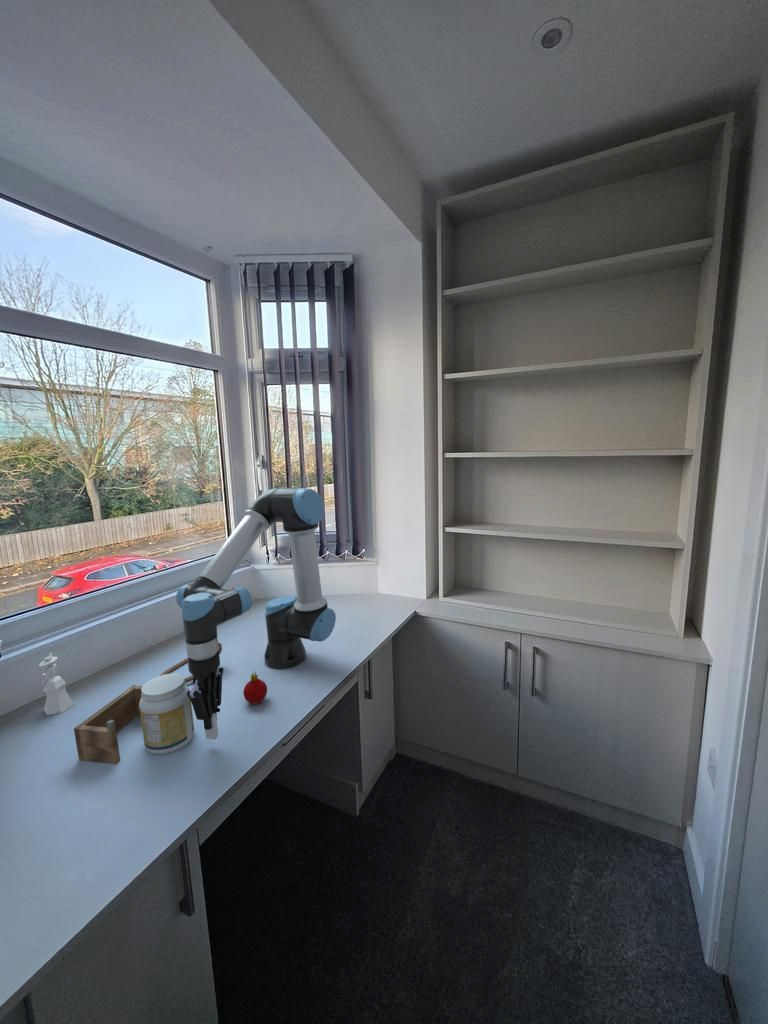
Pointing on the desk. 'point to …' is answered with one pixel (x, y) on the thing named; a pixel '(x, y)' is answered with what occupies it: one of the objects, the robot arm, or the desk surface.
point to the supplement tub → (166, 714)
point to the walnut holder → (107, 728)
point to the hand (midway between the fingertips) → (212, 736)
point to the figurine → (54, 688)
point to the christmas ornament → (255, 690)
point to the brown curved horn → (183, 664)
